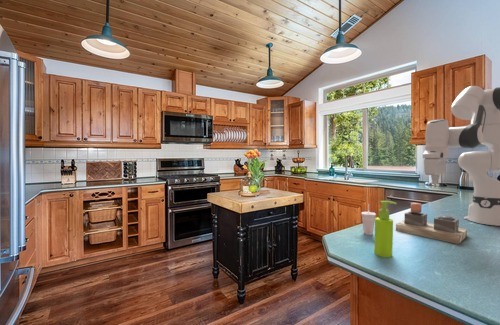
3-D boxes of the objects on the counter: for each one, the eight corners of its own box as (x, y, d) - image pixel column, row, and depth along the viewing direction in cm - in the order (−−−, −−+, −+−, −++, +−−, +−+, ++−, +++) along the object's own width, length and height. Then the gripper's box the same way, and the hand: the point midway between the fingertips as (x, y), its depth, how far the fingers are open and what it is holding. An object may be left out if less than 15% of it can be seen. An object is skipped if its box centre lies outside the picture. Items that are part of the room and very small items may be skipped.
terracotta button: (412, 210, 124) (412, 202, 124) (422, 211, 121) (422, 203, 121) (409, 211, 121) (409, 203, 121) (419, 213, 118) (419, 204, 118)
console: (407, 224, 131) (408, 209, 131) (466, 235, 113) (467, 218, 112) (395, 230, 121) (396, 213, 121) (458, 244, 102) (459, 225, 102)
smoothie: (375, 232, 117) (376, 203, 117) (376, 236, 111) (376, 205, 111) (360, 230, 120) (361, 202, 119) (360, 234, 114) (361, 204, 113)
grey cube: (441, 223, 115) (441, 215, 115) (453, 225, 112) (453, 217, 112) (438, 225, 112) (439, 216, 112) (451, 227, 109) (451, 218, 109)
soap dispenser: (395, 259, 88) (396, 203, 87) (373, 255, 91) (374, 201, 90) (395, 253, 93) (397, 200, 92) (375, 249, 96) (376, 198, 95)
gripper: (434, 154, 123) (433, 182, 124) (421, 154, 110) (420, 185, 110) (450, 154, 119) (449, 183, 119) (438, 154, 105) (437, 186, 106)
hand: (435, 184), depth 115 cm, fingers closed
